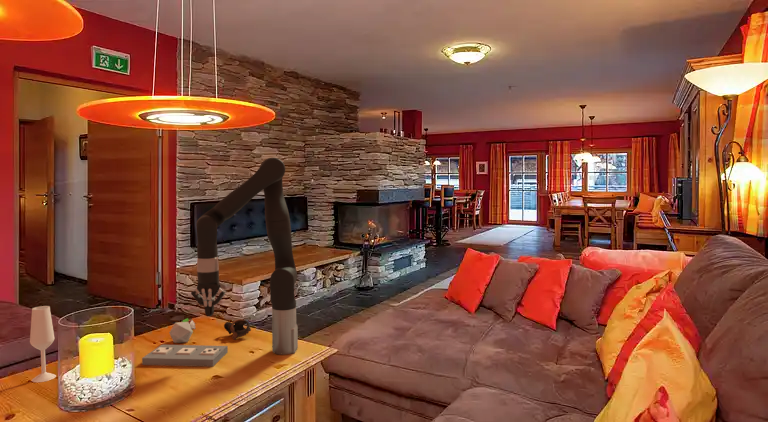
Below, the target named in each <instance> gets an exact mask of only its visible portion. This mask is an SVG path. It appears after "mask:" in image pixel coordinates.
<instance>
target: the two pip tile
mask: <svg viewBox="0 0 768 422" xmlns="http://www.w3.org/2000/svg"><path fill="white" fill-rule="evenodd" d="M158 347H159V346H158ZM158 347H157V348H158ZM154 350H155V349H154ZM172 350H173V348H169V347H159V348H158V349H157V350H155V351H154V352H153V354H168V353H169V352H171V351H172Z"/></svg>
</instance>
